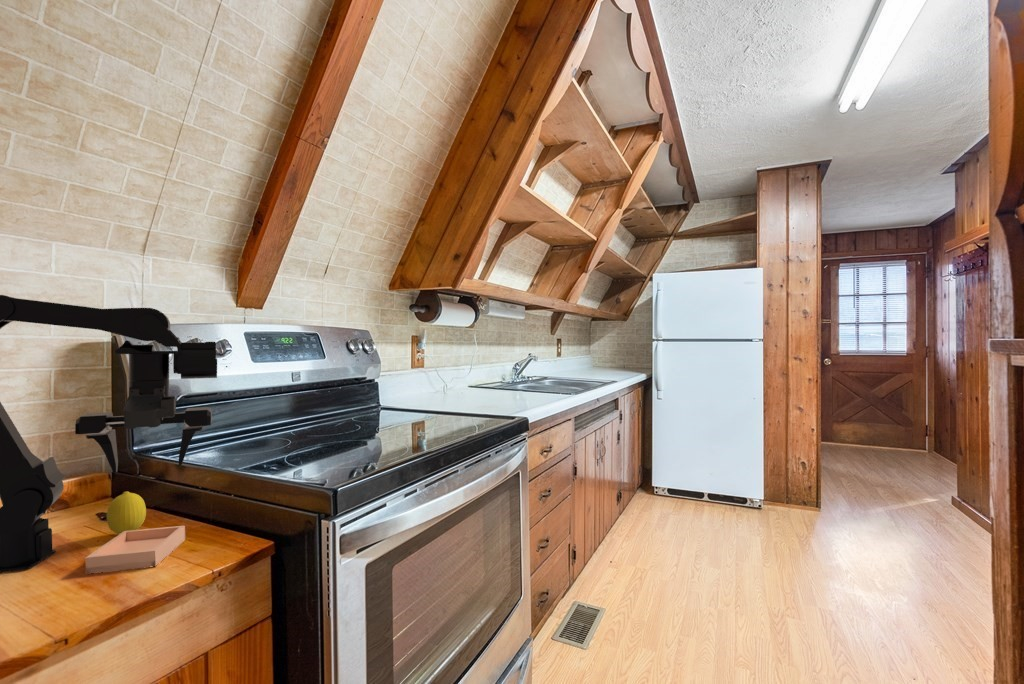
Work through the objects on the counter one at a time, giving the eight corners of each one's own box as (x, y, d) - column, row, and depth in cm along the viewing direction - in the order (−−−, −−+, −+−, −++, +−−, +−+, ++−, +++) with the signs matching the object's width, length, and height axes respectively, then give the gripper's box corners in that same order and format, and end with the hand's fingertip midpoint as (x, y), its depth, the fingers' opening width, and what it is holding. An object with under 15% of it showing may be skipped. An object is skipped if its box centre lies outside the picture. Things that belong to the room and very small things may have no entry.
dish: (85, 574, 73) (85, 557, 73) (124, 545, 83) (124, 531, 83) (155, 567, 75) (155, 550, 75) (185, 539, 85) (184, 525, 85)
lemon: (100, 539, 86) (99, 494, 86) (136, 528, 91) (135, 485, 91) (116, 545, 84) (115, 498, 84) (153, 533, 89) (151, 489, 88)
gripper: (65, 385, 74) (64, 488, 74) (209, 381, 84) (209, 472, 84) (84, 380, 84) (84, 471, 84) (212, 377, 93) (211, 459, 93)
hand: (148, 469), depth 86 cm, fingers open, 9 cm apart
